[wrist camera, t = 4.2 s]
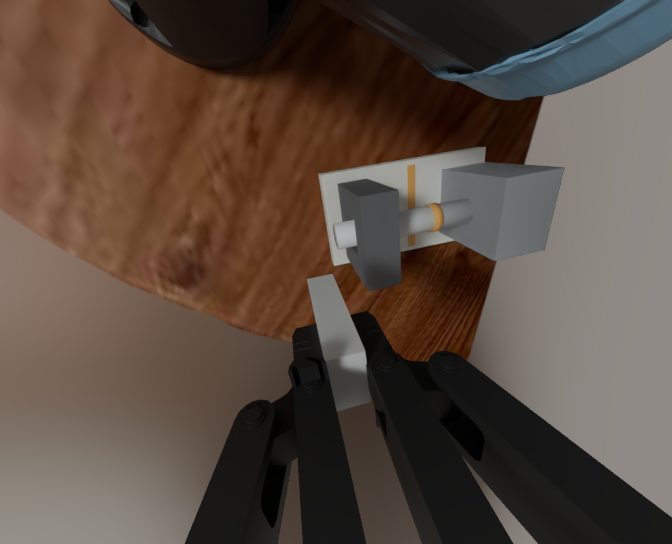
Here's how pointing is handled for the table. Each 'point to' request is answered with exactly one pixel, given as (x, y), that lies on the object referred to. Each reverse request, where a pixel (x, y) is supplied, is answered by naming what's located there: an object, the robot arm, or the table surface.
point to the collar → (373, 231)
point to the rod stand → (455, 203)
